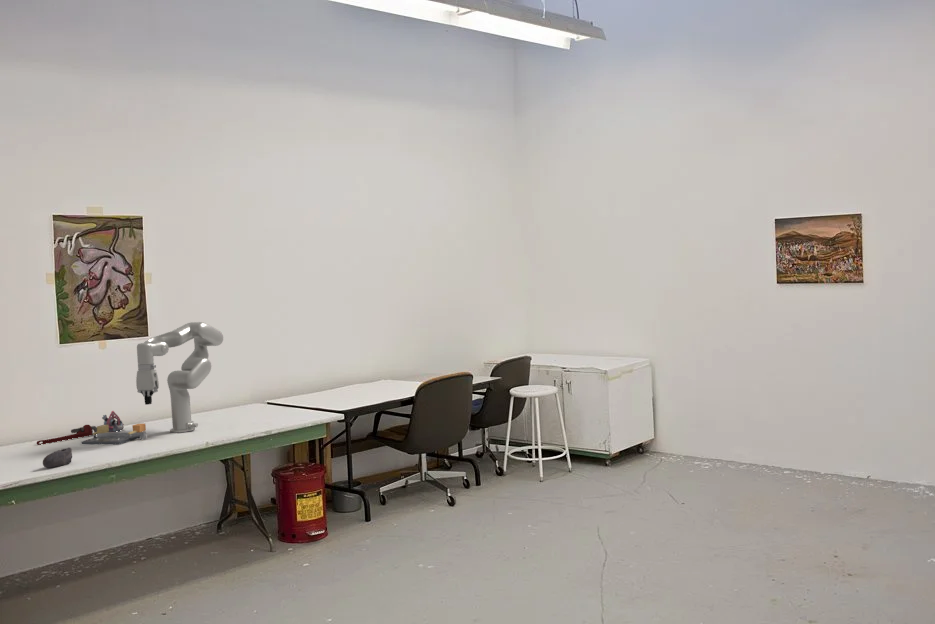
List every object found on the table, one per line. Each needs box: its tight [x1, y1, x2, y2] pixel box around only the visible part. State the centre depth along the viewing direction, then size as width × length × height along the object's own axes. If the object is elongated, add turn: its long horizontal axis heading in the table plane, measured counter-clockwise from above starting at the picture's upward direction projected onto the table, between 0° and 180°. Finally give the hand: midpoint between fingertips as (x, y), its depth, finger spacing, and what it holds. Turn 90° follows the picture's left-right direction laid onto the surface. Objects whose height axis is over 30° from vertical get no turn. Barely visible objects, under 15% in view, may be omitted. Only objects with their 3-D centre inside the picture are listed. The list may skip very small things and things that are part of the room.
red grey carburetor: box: [101, 410, 125, 432], centre depth 463 cm, size 11×11×12 cm
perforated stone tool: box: [42, 447, 73, 469], centre depth 379 cm, size 15×5×7 cm, turn 152°
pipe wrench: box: [36, 424, 97, 446], centre depth 444 cm, size 7×2×30 cm
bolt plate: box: [80, 424, 147, 445], centre depth 433 cm, size 27×16×7 cm, turn 76°
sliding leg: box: [128, 423, 147, 438], centre depth 432 cm, size 4×11×5 cm, turn 167°
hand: (148, 404), depth 433 cm, fingers closed
